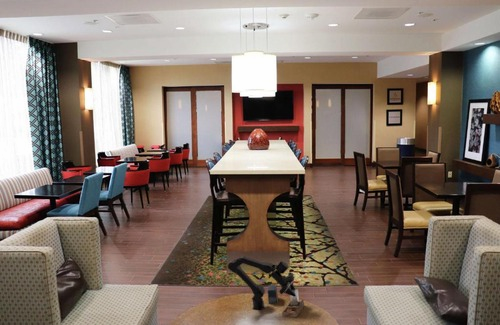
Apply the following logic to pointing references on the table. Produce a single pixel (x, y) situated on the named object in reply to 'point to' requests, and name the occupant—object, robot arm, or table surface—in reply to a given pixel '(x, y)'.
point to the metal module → (294, 298)
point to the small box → (272, 294)
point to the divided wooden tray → (292, 309)
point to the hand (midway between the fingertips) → (296, 294)
